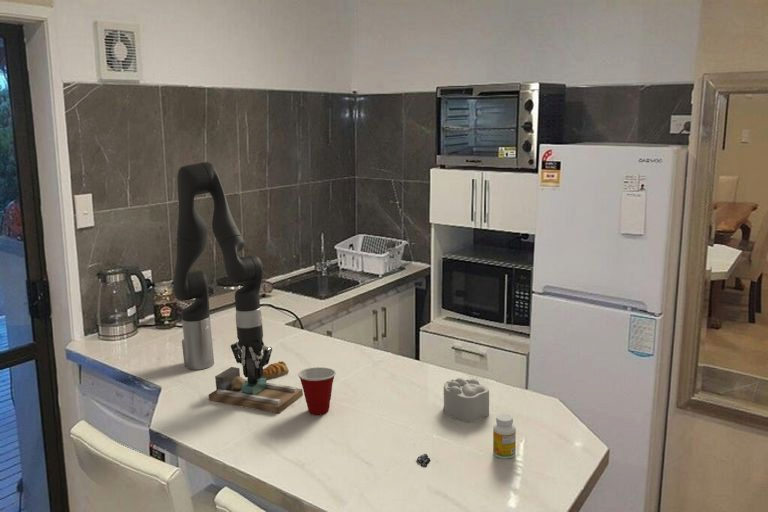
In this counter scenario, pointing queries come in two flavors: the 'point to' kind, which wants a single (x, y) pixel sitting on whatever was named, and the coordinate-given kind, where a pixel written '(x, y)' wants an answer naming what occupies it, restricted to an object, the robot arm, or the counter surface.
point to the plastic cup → (317, 388)
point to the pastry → (275, 370)
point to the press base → (266, 400)
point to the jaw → (253, 379)
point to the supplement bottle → (504, 437)
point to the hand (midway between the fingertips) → (253, 377)
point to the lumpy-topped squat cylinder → (466, 400)
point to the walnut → (238, 382)
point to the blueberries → (423, 460)
